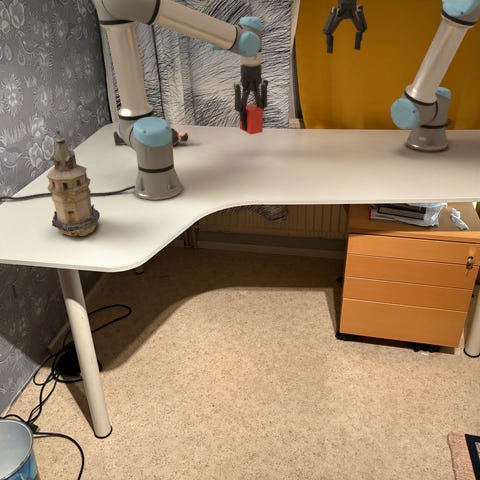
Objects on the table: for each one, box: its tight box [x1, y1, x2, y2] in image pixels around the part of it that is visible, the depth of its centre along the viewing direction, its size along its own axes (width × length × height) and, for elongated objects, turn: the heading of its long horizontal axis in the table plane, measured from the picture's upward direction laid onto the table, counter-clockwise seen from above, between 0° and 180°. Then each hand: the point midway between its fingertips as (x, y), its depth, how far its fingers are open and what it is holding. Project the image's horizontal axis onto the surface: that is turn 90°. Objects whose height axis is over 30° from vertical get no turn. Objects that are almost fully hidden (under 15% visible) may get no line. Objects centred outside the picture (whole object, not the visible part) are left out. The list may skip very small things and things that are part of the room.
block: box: [239, 103, 264, 135], centre depth 199 cm, size 5×8×9 cm, turn 30°
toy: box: [113, 127, 189, 146], centre depth 218 cm, size 26×6×30 cm
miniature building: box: [46, 129, 101, 237], centre depth 148 cm, size 13×14×30 cm
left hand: (251, 127), depth 201 cm, fingers closed on block, 5 cm apart
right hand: (343, 51), depth 212 cm, fingers open, 13 cm apart
